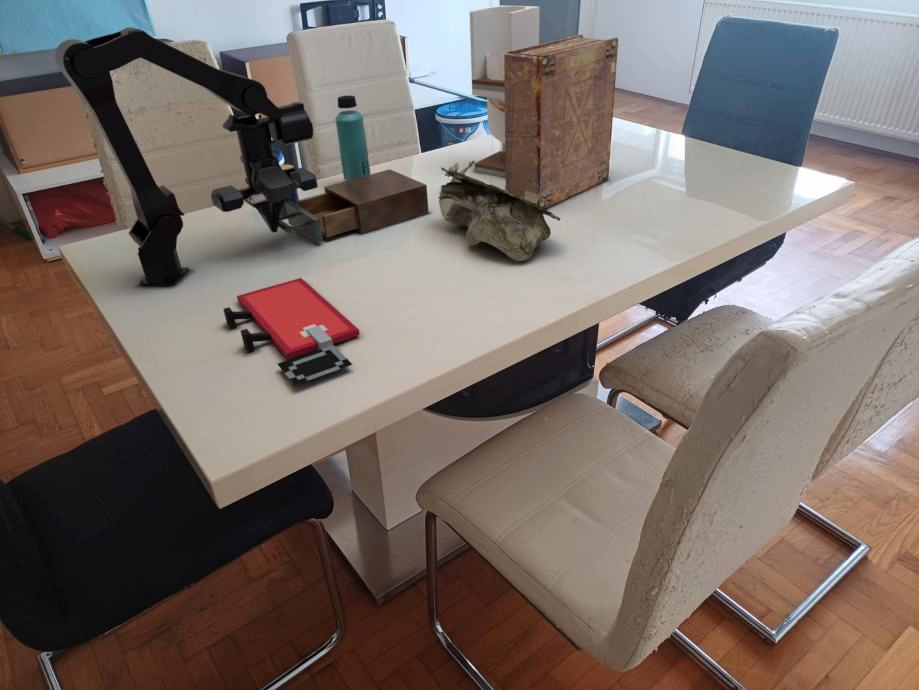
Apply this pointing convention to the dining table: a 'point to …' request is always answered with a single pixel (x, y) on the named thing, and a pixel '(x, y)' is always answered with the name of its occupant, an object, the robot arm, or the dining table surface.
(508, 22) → the display case
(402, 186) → the cabinet
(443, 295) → the dining table surface
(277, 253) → the dining table surface
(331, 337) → the red board with handle
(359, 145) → the beverage bottle
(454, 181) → the dry twiggy plant
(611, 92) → the book
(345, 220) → the drawer
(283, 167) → the tin
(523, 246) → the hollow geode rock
